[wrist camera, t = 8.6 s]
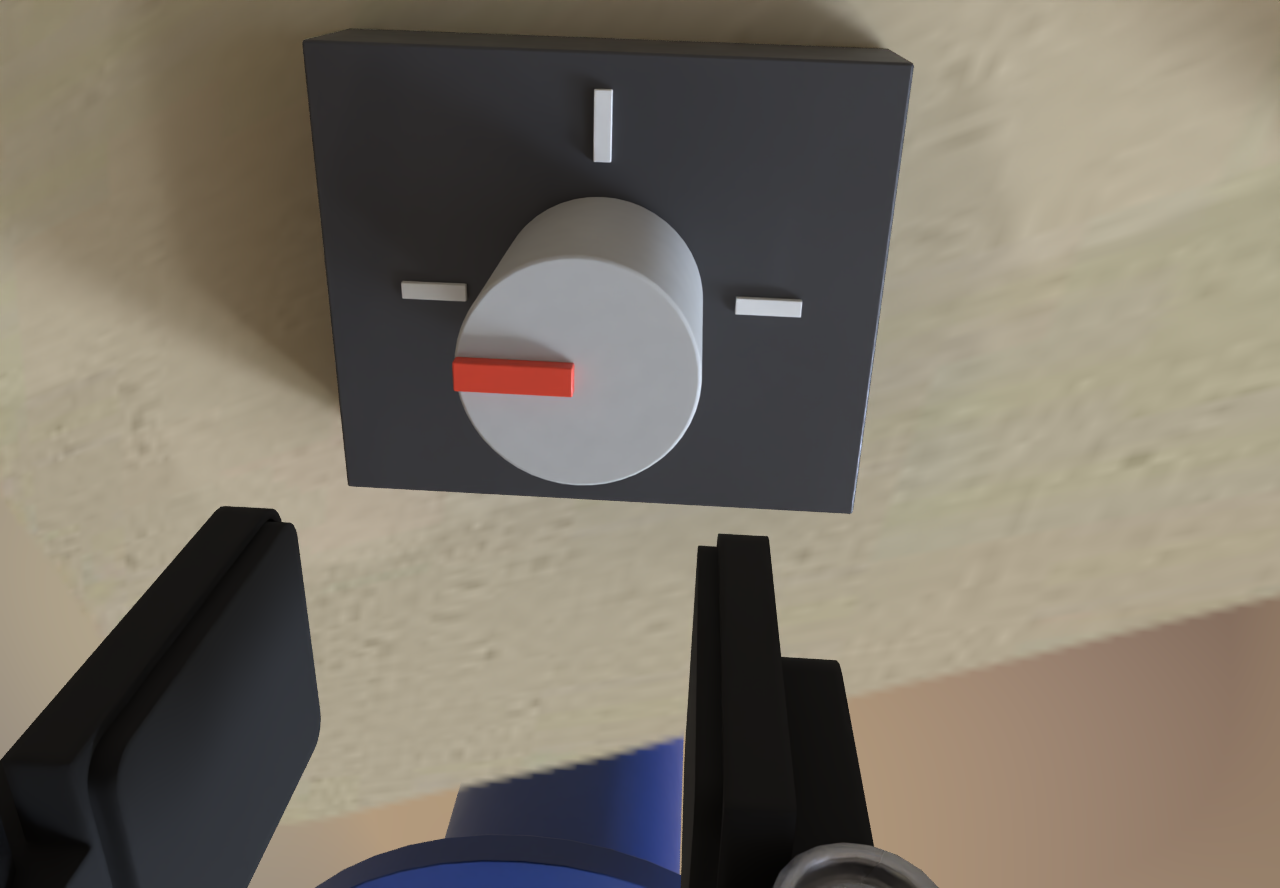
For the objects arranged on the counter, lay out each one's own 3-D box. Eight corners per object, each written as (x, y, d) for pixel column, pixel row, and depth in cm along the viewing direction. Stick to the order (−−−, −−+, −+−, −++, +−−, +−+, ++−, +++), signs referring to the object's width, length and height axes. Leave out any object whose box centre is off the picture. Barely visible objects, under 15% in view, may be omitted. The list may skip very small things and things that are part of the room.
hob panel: (838, 458, 27) (853, 518, 24) (382, 433, 28) (345, 490, 25) (890, 48, 23) (916, 64, 20) (348, 28, 23) (297, 40, 20)
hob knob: (709, 200, 21) (709, 265, 17) (697, 397, 23) (694, 501, 19) (496, 190, 22) (443, 253, 17) (501, 387, 23) (455, 488, 19)
